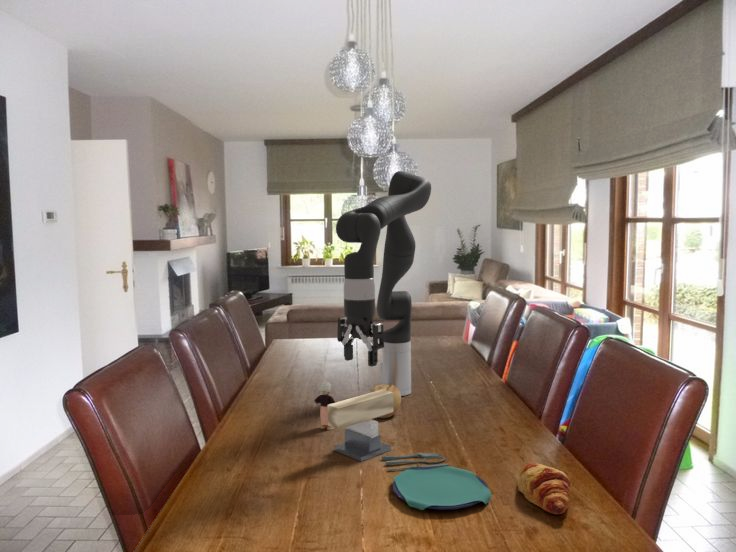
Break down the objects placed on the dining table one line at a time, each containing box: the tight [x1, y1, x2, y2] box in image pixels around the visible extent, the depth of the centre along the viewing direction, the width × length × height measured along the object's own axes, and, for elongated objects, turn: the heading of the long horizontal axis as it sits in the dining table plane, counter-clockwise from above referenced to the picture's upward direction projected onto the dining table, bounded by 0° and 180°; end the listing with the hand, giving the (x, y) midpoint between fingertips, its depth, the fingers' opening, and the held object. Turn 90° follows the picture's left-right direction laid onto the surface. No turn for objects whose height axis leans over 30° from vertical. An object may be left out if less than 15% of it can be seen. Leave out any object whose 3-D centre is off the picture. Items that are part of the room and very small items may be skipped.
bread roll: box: [369, 384, 402, 419], centre depth 176 cm, size 10×15×8 cm, turn 1°
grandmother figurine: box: [313, 381, 336, 431], centre depth 164 cm, size 8×4×13 cm, turn 71°
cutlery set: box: [381, 452, 492, 511], centre depth 129 cm, size 20×30×2 cm, turn 11°
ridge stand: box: [333, 419, 392, 462], centre depth 147 cm, size 10×10×8 cm
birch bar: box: [327, 389, 394, 430], centre depth 147 cm, size 4×18×5 cm, turn 132°
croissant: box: [517, 462, 572, 515], centre depth 122 cm, size 21×10×8 cm, turn 2°
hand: (360, 362), depth 145 cm, fingers open, 8 cm apart
